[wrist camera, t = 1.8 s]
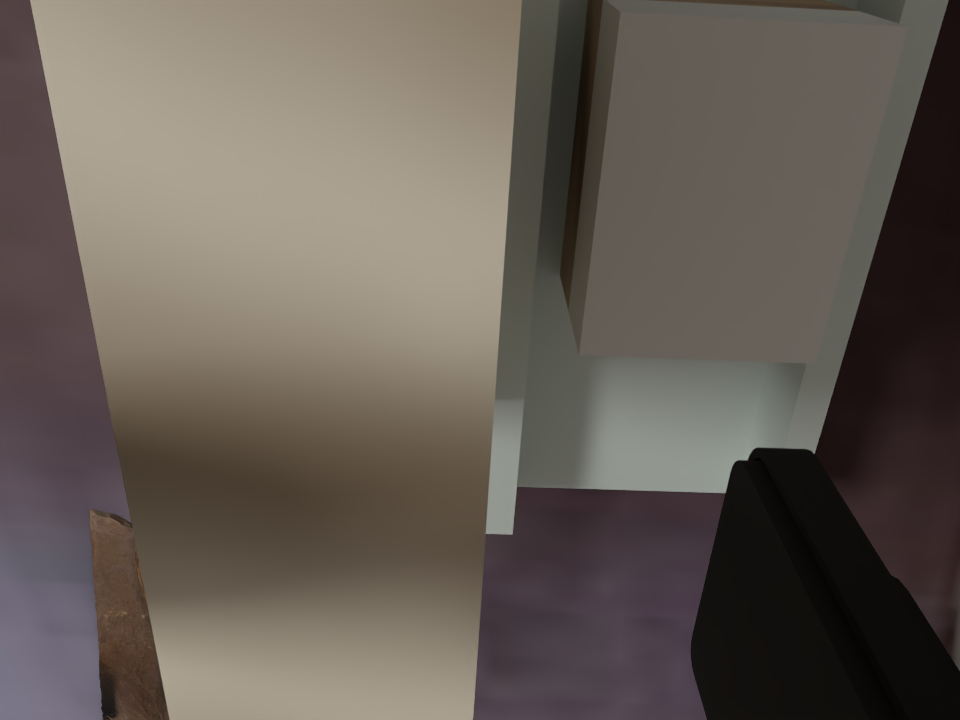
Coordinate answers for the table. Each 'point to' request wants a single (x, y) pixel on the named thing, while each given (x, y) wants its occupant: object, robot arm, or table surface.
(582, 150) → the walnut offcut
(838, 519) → the robot arm
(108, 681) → the brown ridged slab
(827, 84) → the grey offcut
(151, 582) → the birch sheet
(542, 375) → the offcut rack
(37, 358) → the table surface
